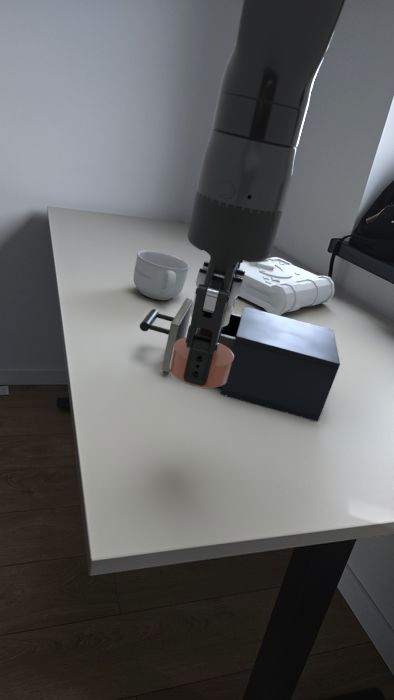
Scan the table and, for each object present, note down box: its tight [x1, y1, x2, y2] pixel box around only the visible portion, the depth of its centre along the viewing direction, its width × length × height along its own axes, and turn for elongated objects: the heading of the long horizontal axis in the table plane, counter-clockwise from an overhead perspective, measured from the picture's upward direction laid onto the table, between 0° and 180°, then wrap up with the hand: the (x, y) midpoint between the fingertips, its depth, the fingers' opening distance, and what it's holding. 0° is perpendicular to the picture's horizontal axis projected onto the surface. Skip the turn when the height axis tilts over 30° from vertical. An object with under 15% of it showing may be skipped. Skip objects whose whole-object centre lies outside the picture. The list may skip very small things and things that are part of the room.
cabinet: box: [220, 306, 341, 422], centre depth 75 cm, size 15×13×10 cm
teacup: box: [133, 250, 191, 301], centre depth 100 cm, size 14×11×8 cm
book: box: [238, 256, 336, 316], centre depth 118 cm, size 19×28×8 cm
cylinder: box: [170, 336, 234, 389], centre depth 49 cm, size 6×6×2 cm
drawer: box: [139, 297, 242, 373], centre depth 76 cm, size 18×11×8 cm, turn 80°
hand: (200, 366), depth 49 cm, fingers closed on cylinder, 6 cm apart
